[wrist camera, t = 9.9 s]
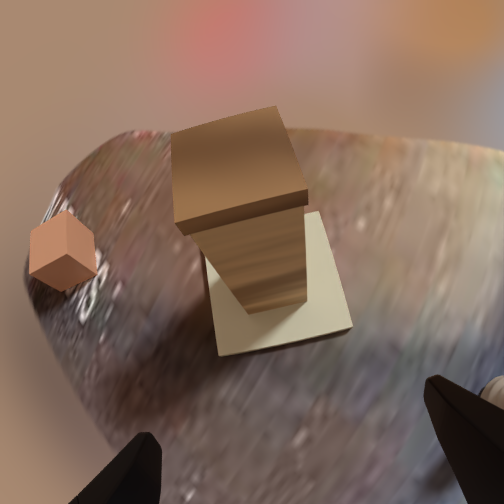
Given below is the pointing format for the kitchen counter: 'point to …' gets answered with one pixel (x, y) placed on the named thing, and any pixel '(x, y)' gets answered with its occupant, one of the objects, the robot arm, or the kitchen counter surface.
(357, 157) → the kitchen counter surface
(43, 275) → the terracotta block
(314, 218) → the pad
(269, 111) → the brown block
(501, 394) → the rook chess piece
